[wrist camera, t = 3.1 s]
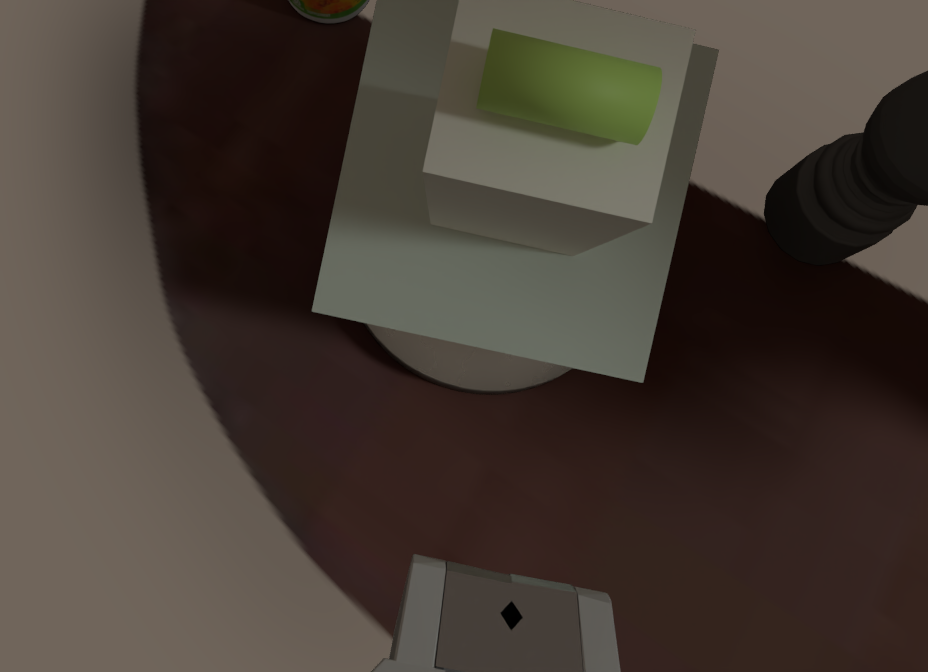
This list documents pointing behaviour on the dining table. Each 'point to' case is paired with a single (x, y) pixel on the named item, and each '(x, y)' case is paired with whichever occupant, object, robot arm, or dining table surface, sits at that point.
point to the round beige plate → (464, 364)
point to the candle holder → (856, 183)
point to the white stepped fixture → (517, 178)
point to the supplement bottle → (329, 9)
